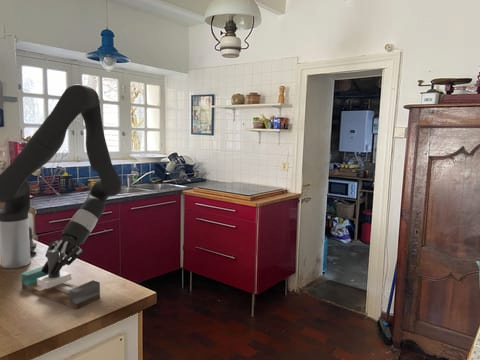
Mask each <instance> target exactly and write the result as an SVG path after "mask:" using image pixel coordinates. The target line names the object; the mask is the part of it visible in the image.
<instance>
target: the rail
mask: <svg viewBox="0 0 480 360" xmlns="http://www.w3.org/2000/svg"><path fill="white" fill-rule="evenodd" d="M43 266H44V265H42V266H39V267H37V268H34V269H30V270H28V271H25V272H22V273H21V274H20V275H21V276H20V277H21V288H22V289H23V290H25V291H27V292H30V293H32V294H36V295H38V296H40V297H43V298H46V299H49V300H51V301H55V302H57V303H60V304H62V305H65V306H68V307H70V308H73V309H76V310H78V309H80V308H83V307H85V306H88V305H89V304H91V303H93V302H95V301H97V300H99V299H101V288H100V287H101V285H100V281H97V280H90V281H88V282H85V283H83V284H80V285H77V284H76V285H75V284H73V283H69V282H68V281H66V282H64V283H61V284H58V285H56V286H53V287H51V288H48V289H47V288H44V287H41V286H38V285H37V279H38V278H41V277H43V276H46V275H48V274H45V273H43V272H42V271H41V270H42V268H43Z"/></svg>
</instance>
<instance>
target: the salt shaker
mask: <svg viewBox="0 0 480 360" xmlns="http://www.w3.org/2000/svg"><path fill="white" fill-rule="evenodd" d="M33 237H34V235H33V230H32V227H30V226H29V240H30V257H31V256H35V255H36V254H37V252H36V251H35V250H36V248H37V243H36V242H35V243H34V241H33Z"/></svg>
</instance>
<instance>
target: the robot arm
mask: <svg viewBox="0 0 480 360" xmlns="http://www.w3.org/2000/svg"><path fill="white" fill-rule="evenodd" d="M101 111H102V110H101V101H100V97H99V94H98V92H97V91H96V90H95V89H94V88H93V87H90V86H88V85H83V84H77V83H75V84H71V85H70V86H68V87H66V89H65V90H64V92H63V93H62V94H61V96H60V98H59V99H58V101H57V102H56V103H55V106H54V108H53V109H52V111H51V112H50V113H49V114H48V116H47V117H46V118H45V120H43V122H42V123H41V125H40V126H39V127H38V128H37V130H35V132H34V133H33V135H31V137H30V138H29V139H28V141H27V142H26V144H25V145H24V147H23V148H22V149H21V150H20V152H19V153H18V154H17V155H16V157H14V159H13V160H12V161H11V163H10V164H9V165H8V166H7V167H6V168H5V169H4V170H3V171H2V172H1V173H0V203H5V204H4V206H3V208H2V209H1V210H0V265H1V268H4V269H16V268H17V269H18V268H23V267H25V266H27V265H29V264H31V262H32V260H31V256H30V240H29V227H30V226H29V212H30V209H31V187H30V183H29V180H28V178H29V177H30V176H32V175H33V173H35V172H37V171H38V170H39V169H41V168H42V167H43V166H44V165H46V164H47V163H48V162H50V160H51V159H53V158H54V156H55V155H57V153H58V151H59V150H60V149H61V147H62V146H63V144H64V141H65V138H66V135H67V131H68V129H69V126H71V124H72V122H74V121H75V119H76V118H77V117H78V116H79V115H80V114H81V116H82V120H83V122H84V126H85V150H86V155H87V157H88V161H89V165H90V168H91V170H92V171H93V172H95V173H97V175H98V177H99V179H97V180H96V181H95V182H94V184H93V185H92V186H91V188H90V191H89V193H88V195H87V197H86V200H85V201H84V202H83V203H82V205H81V206H80V207H79V209H78V210H77V211H76V212H75V213H74V214H73V216H72V218H71V219H69V222H68V223H67V224H66V225H65V227H64V228H63V230H62V231H61V233H62V236H61V237H60V238H59V239H58V240H51V241H50V242H49V245H48V248H47V250H46V253H45V257H46V258H47V251H49V250H59V259H58V261H57V262H58V263H55V265H54V266H53V268H52V269H51V271H50V272H49V274H50V275H52V276H54V277H55V276H56V275H57V274H58V273H59V271H60V270H62V268H63V267H65V266H66V265H67V266H71V264H73V262H74V261H75V260H77V258H79V257H80V256H81V255H82V254H83V253H84V250H83V249H82V248H80V245H83V244H84V243H85V241H86V240H87V239H88V237H90V234H91V233H92V231H93V230H94V228H95V227H96V225H97V222H98V221H99V220H100V217H102V214H103V213H104V212H105V209H106V204H105V203H106V201H107V200H108V199H109V198H110V197H114V196H117V195H118V194H120V192H121V191H122V181H121V177H120V175H119V174H118V172H117V170H116V168H115V166H114V165H113V164H112V159H111V155H110V152H109V149H108V144H107V141H106V136H105V132H104V127H103V126H104V125H103V117H102V112H101ZM42 266H43V268H42V270H41V271H42V272H43V273H45V274H48V259H47V261H46V262H45V263H44V265H42Z"/></svg>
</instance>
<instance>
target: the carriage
mask: <svg viewBox="0 0 480 360" xmlns="http://www.w3.org/2000/svg"><path fill="white" fill-rule="evenodd" d="M46 252H47V257H46V258H47V260H48V275H46V276H43V277H41V278H38V279H37V285H38V286H41V287H44V288H47V289H48V288H51V287H53V286H56V285H58V284H61V283H64V282H68V281H71V280H72V273H71V272H68V271H65V270H62V269H61V270H60V271H59V273H58V274H57V275H56V276H55V277H54V276H52V275H50V274H49V272H50V271H51V269H52V268H53V266H54V265H55V263H58V262H57V261H58V259H59V250H49V251H47V250H46Z"/></svg>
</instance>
